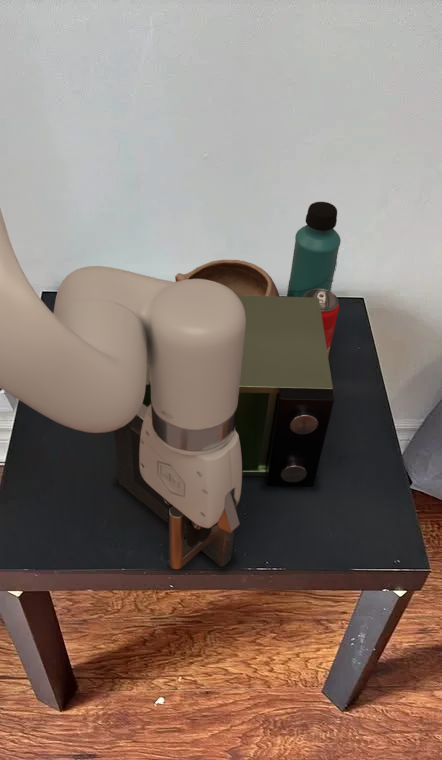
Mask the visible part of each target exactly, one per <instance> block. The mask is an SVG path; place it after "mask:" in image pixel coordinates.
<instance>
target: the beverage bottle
mask: <svg viewBox="0 0 442 760" xmlns="http://www.w3.org/2000/svg"><path fill="white" fill-rule="evenodd" d="M337 221H338V209H337V207H336V206H335V205H334V204H332V203H331V202H327V201H315V202H313V203H311V204H310V205H309V206H308V209H307V213H306V215H305V224H306V225H304V226H301V228H299V229H298V230H297V231H296V233H295V237H294V238H295V240H294V247H293V248H294V249H293V255H292V260H291V261H292V262H291V269H290V274H289V279H288V286H287V287H286V288H287V289H286V290H287V291H286V293H287V294H286V297H303V296H304V294H305V293H306V292H307V291H309V290H312V289H325V290H328V291H330V292H332V288H333V282H334V277H335V272H336V271H337V267H338V266H337V265H338V256H339V249H340V246H341V241H342V239H341V236H340V234H339V233H338V232H337V231H336V230H335V229H334V228H336V226H337Z"/></svg>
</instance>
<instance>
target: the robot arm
mask: <svg viewBox="0 0 442 760" xmlns="http://www.w3.org/2000/svg"><path fill="white" fill-rule="evenodd" d="M245 328H246V315H245V310H244V307H243V305H242V302H241V301H240V299H239V298H238V296H237V295H236V294H235V293H234V292H233V291H232V290H231V289H229V288H228V287H226V286H224V285H222V284H220V283H217V282H214V281H210V280H205V279H188V280H182V281H178V282H176V281H172V280H167V279H162V278H157V277H153V276H150V275H145V274H142V273H137V272H133V271H129V270H126V269H121V268H115V267H111V266H103V265H89V266H88V265H87V266H84V267H80V268H77V269H75V270H73V271H71V272H70V273H69V274H68V275H66V276H65V278H64V279H62V281H61V283H60V284H59V287H58V290H57V293H56V297H55V301H54V306H53V311H51V310H50V309H49V307H48V306H47V305H46V303H45V302H44V301H43V300H42V299H41V297H40V296H39V295H38V293H37V292H36V290H35V289H34V287H33V286H32V284H31V283H30V281H29V279H28V277H27V276H26V274H25V272H24V271H23V268H22V266H21V263H20V262H19V260H18V257H17V255H16V254H15V251H14V249H13V246H12V242H11V240H10V236H9V233H8V230H7V227H6V223H5V219H4V216H3V212H2V209H1V208H0V389H1V390H3V391H4V392H6V393H8V394H9V395H11V396H12V397H14V398H15V399H17V400H19V401H20V402H22V403H23V404H25V405H26V406H28V407H29V408H31V409H32V410H34V411H36V412H37V413H39V414H41V415H42V416H44V417H46V418H47V419H50V420H52V421H53V422H55V423H57V424H59V425H62V426H64V427H67V428H70V429H72V430H74V431H80V432H83V433H89V434H90V433H94V434H102V433H110V432H114V430H117V429H119V428H121V427H123V426H125V425H126V424H128V423H129V422H130V421H131V420H132V419H133V418H134V417H135V416H136V414H137V413H138V412H139V410H140V407H141V405H142V403H143V400H144V396H145V388H146V376H147V363H148V364H149V366H150V378H149V381H148V382H149V385H151V404H150V405H149V407H148V409H147V411H146V414H145V417H144V421H143V424H142V429H141V436H140V448H139V467H140V473H141V476H142V477H143V479H144V480H145V481H146V482H147V483H148V484H149V485H150V486H151V487H152V488H153V489H154V490H155V491H156V492H158V493H159V494H160V495H161V496H162V497H163V500H164V502H165V503H166V504H167V505H169V507H168V523H167V529H168V530H169V509H170V508H171V507H172V506H174V507H176V508H177V509H178V510H179V511H180V512H182V513H183V514H184V515H185V516H187V517H188V518H189V519H190V521H189V522H188V523H187V535H186V538H185V539H186V542H187V545H188V546H190V547H193V546H194V545H195V544H196V543H197V542H199V541H200V542H203V541H205V540H206V539H207V538H208V537H209V536H210V534H211V528H212V527H215V526H216V525H217V526H219V528H221V529H223V530H225V531H227V532H230V533H231V532H232V531H233V530H234V531H235V530H236V529H237V528H238V527H240V525H241V522H240V519H239V516H238V515H239V514H238V511H237V512H236V509H235V506H237V507H238V505H239V503H240V499H241V495H242V486H243V485H242V484H243V476H242V457H241V447H240V440H239V435H238V433H237V432H236V430H235V425H236V414H237V405H238V395H239V386H240V377H241V367H242V357H243V348H244V338H245ZM189 519H188V520H189ZM188 520H187V521H188ZM187 521H186V522H187ZM184 523H185V522H184Z"/></svg>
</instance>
